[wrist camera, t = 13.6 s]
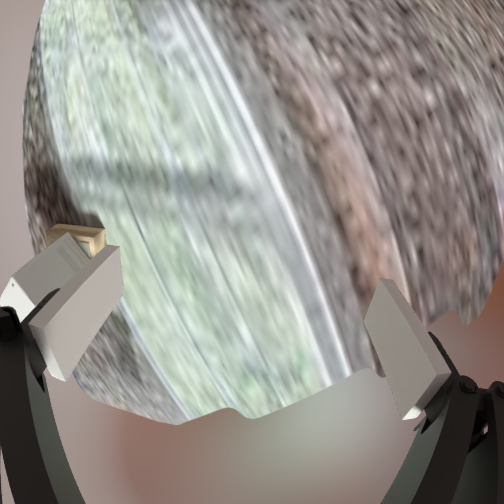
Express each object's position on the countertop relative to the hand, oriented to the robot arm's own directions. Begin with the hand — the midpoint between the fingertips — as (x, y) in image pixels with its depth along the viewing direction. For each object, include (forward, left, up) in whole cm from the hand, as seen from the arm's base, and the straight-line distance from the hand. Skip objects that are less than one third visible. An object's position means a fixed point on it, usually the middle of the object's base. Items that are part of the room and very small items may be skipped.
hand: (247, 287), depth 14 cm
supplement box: (+16, -30, -25) cm, 42 cm away
